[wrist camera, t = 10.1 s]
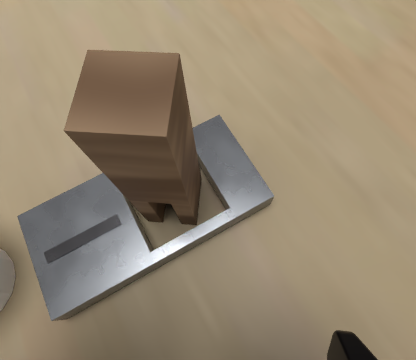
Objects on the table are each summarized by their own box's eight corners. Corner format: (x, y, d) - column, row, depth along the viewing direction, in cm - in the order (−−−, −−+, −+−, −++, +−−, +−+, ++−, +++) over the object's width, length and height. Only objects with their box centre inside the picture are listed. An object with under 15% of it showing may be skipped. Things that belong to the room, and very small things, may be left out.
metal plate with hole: (269, 204, 23) (274, 195, 21) (66, 319, 21) (50, 321, 19) (219, 128, 25) (219, 113, 23) (34, 223, 23) (16, 215, 21)
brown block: (196, 225, 23) (166, 136, 10) (148, 221, 23) (63, 130, 11) (201, 179, 24) (179, 53, 12) (155, 176, 24) (87, 49, 12)
